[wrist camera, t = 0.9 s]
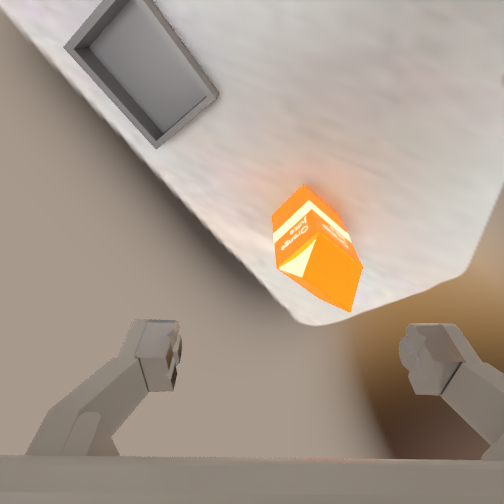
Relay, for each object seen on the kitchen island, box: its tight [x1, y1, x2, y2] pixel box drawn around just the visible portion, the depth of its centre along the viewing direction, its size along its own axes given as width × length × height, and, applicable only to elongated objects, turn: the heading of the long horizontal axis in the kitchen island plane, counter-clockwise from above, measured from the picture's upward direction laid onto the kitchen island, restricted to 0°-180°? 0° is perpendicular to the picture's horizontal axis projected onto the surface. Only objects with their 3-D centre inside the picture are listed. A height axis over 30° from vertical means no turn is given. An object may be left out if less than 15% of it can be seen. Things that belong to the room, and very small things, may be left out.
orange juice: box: [272, 184, 363, 312], centre depth 46 cm, size 8×9×20 cm
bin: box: [63, 0, 219, 149], centre depth 40 cm, size 15×11×4 cm
